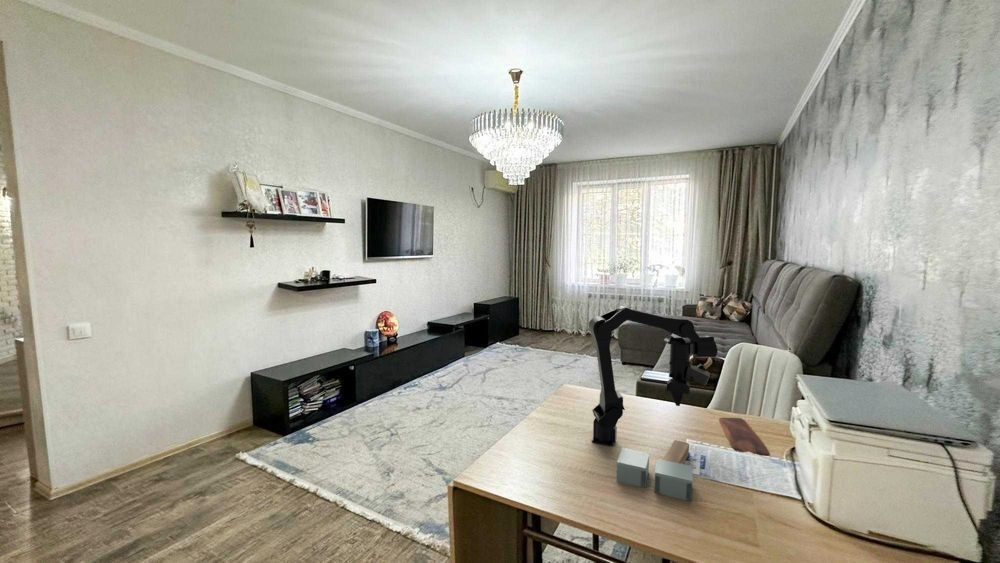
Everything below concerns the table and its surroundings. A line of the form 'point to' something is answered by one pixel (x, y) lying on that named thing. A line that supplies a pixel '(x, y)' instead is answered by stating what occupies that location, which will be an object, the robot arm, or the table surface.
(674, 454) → the brown wooden bar
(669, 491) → the end cap
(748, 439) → the wooden tablet
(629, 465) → the end cap
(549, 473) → the table surface
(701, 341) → the robot arm
